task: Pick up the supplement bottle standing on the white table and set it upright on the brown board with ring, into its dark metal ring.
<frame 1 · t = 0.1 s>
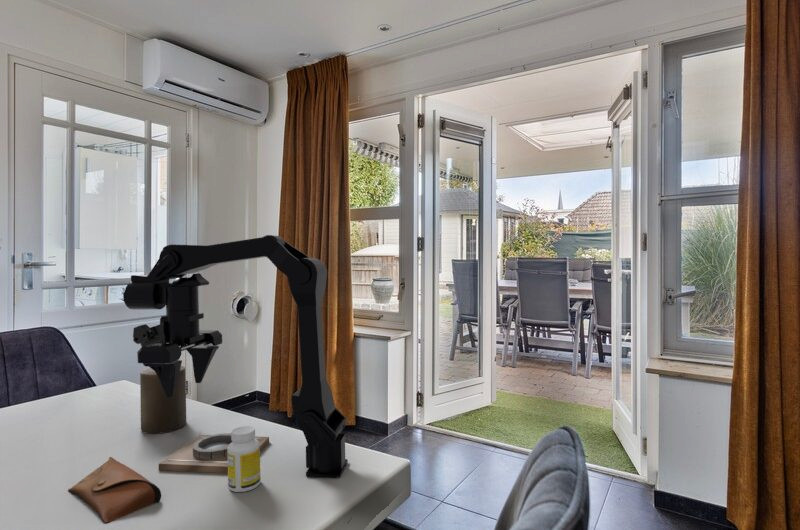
hand: (184, 389, 88), 15 cm above the table, fingers open, 9 cm apart
brown board with ring: (217, 455, 92), on the table
sunglasses case: (112, 499, 77), on the table
supplement bottle: (244, 486, 80), on the table
pillar candle: (164, 427, 109), on the table
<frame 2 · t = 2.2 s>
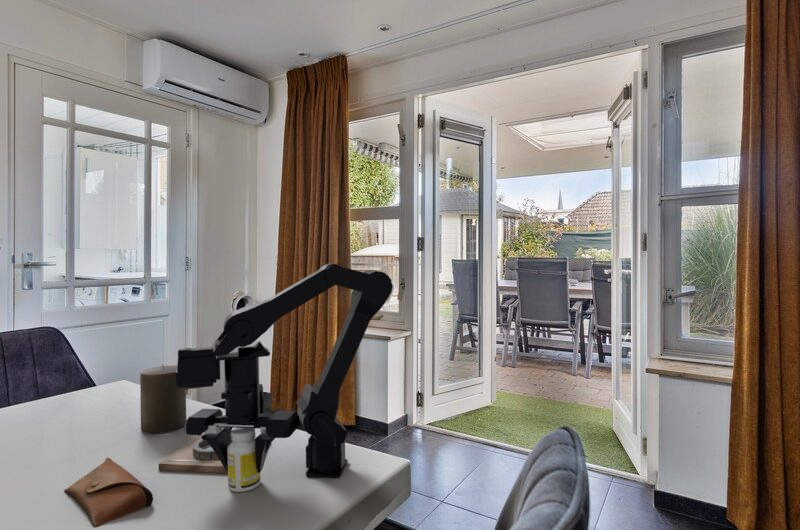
hand: (244, 470, 80), 3 cm above the table, fingers closed on supplement bottle, 5 cm apart
supplement bottle: (244, 486, 80), on the table, touching gripper
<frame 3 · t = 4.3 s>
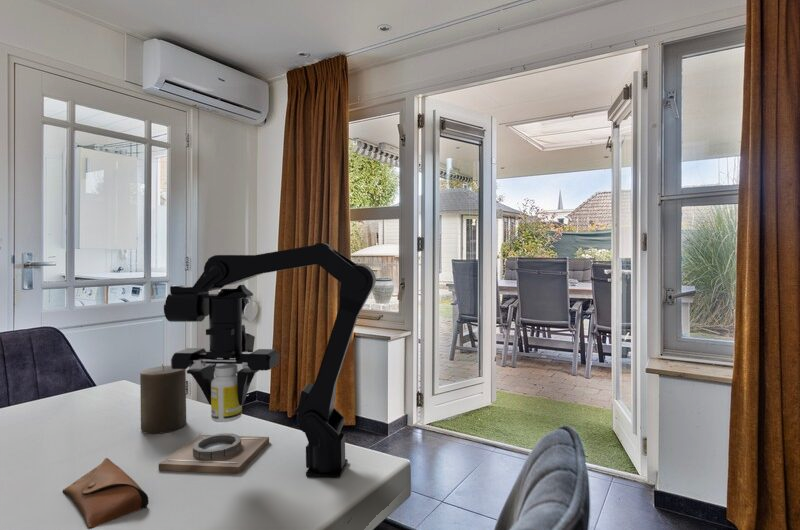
hand: (226, 404, 86), 12 cm above the table, fingers closed on supplement bottle, 5 cm apart
supplement bottle: (226, 419, 86), point 10 cm above the table, touching gripper
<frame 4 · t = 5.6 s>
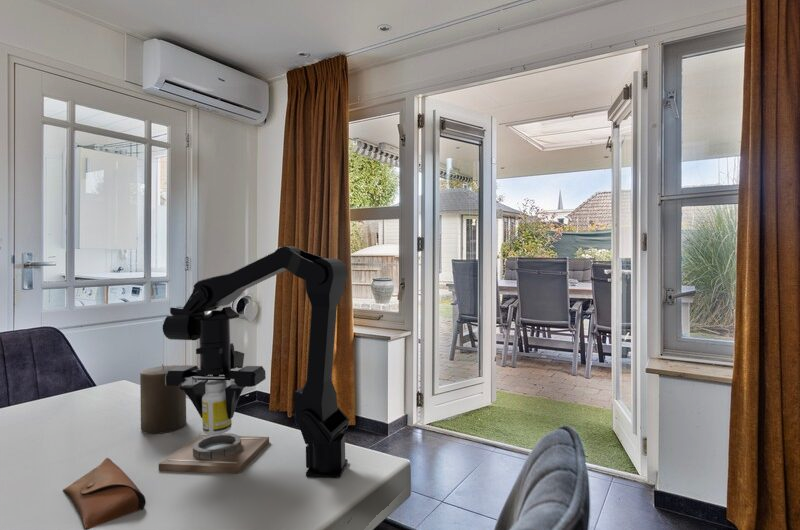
hand: (217, 417, 92), 8 cm above the table, fingers closed on supplement bottle, 5 cm apart
supplement bottle: (217, 431, 92), point 5 cm above the table, touching gripper
when the fingers open (5 cm above the table, at t = 6.5 s): supplement bottle drops 1 cm, resting on brown board with ring.
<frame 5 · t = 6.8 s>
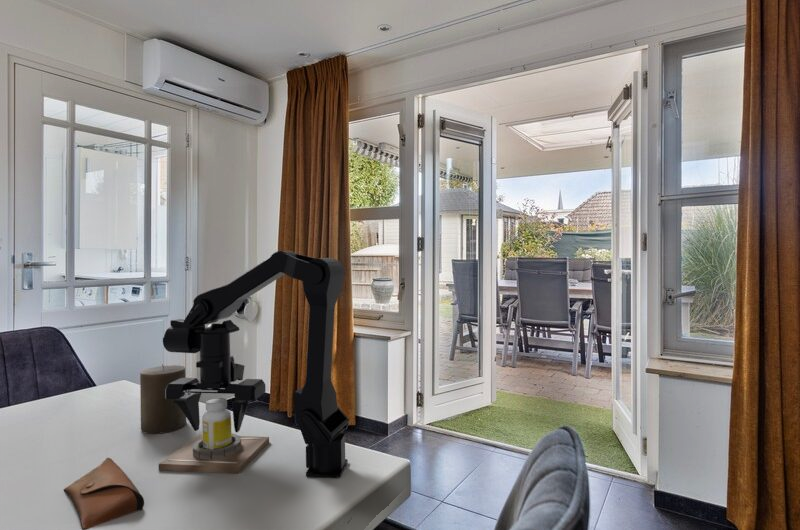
hand: (217, 430, 92), 5 cm above the table, fingers open, 8 cm apart
supplement bottle: (217, 450, 92), point 1 cm above the table, touching brown board with ring
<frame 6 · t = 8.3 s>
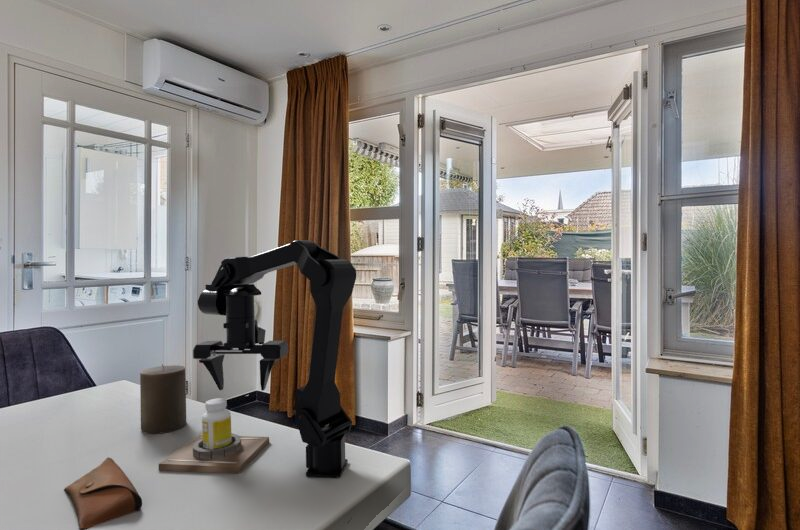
hand: (242, 389, 97), 12 cm above the table, fingers open, 9 cm apart
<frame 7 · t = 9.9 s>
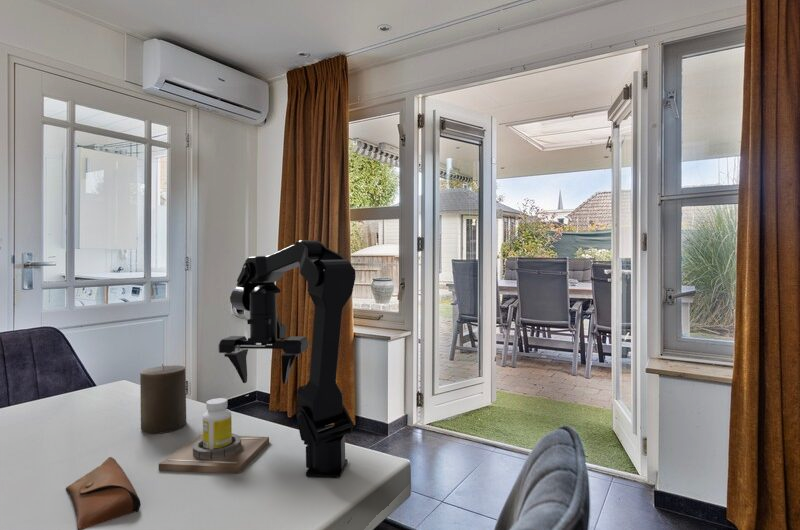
hand: (264, 383, 101), 12 cm above the table, fingers open, 9 cm apart
at the end: supplement bottle 0.1 cm off-centre on the brown board with ring, point 1.1 cm above the brown board with ring's base; supplement bottle tilted 1°; the gripper is holding nothing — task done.
